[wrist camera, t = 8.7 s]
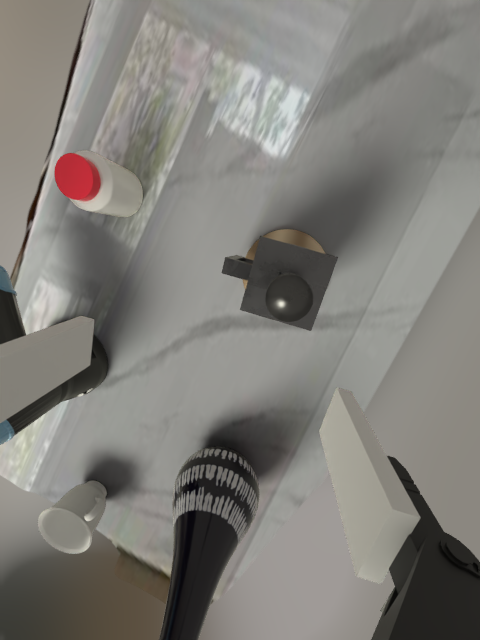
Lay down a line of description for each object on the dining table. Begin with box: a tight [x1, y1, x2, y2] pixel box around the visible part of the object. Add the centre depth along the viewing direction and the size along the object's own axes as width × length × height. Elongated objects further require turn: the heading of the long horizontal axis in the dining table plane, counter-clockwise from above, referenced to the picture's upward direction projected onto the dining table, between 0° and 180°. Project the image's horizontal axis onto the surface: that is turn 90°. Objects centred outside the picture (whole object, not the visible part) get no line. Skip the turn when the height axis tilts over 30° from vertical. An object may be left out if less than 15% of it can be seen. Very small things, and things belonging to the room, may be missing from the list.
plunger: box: [265, 272, 313, 322], centre depth 32 cm, size 7×7×19 cm
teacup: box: [38, 481, 107, 554], centre depth 59 cm, size 12×15×10 cm
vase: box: [159, 446, 259, 640], centre depth 43 cm, size 16×16×30 cm
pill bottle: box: [55, 150, 143, 218], centre depth 40 cm, size 8×8×11 cm
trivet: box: [243, 229, 325, 290], centre depth 44 cm, size 14×14×1 cm
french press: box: [222, 236, 338, 331], centre depth 38 cm, size 13×9×13 cm
